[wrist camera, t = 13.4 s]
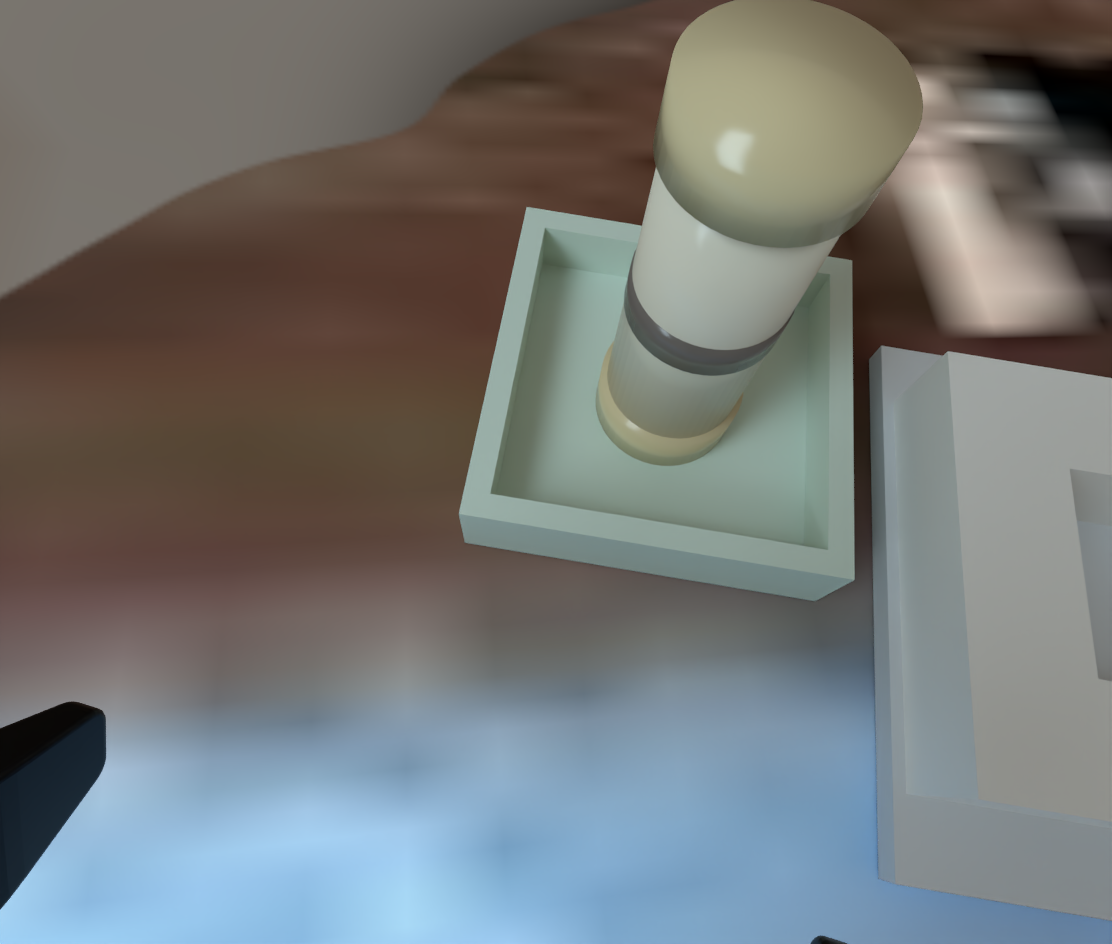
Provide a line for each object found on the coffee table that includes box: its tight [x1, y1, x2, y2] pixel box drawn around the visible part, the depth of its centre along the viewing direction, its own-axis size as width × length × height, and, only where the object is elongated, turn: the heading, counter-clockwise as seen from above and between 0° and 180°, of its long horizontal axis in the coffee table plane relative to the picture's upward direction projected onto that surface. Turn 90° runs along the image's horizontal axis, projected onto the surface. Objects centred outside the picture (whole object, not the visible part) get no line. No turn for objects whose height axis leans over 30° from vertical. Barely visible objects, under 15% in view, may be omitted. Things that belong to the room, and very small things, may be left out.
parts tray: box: [459, 207, 855, 601], centre depth 25 cm, size 12×12×3 cm
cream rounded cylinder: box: [595, 0, 923, 466], centre depth 19 cm, size 5×5×13 cm
